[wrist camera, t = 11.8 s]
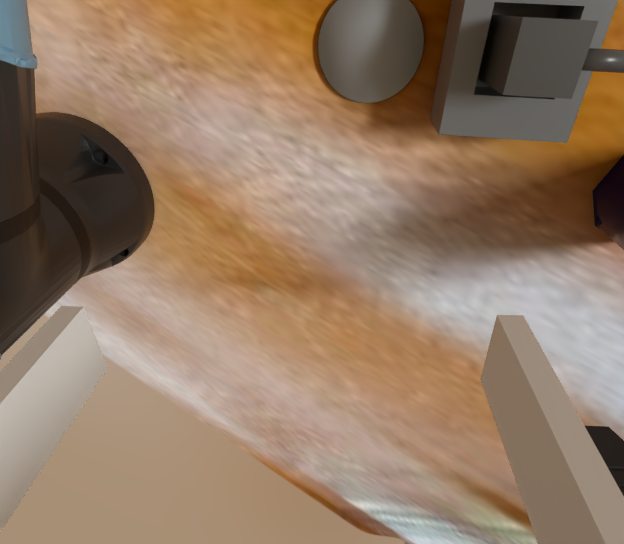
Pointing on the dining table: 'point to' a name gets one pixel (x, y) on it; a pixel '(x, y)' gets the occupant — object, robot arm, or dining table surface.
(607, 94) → the dining table surface
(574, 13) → the strip
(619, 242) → the bottle
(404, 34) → the coaster
